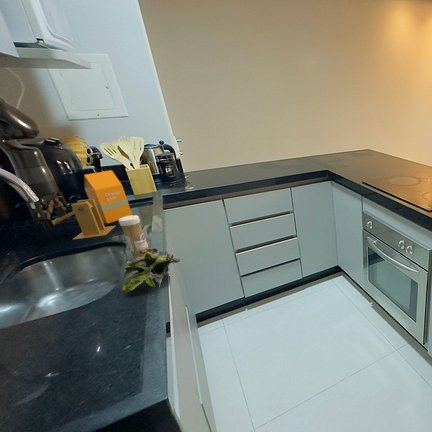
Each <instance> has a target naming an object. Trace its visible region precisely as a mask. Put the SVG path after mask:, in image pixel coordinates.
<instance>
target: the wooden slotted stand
mask: <svg viewBox="0 0 432 432" xmlns="http://www.w3.org/2000/svg"><path fill="white" fill-rule="evenodd" d="M86 201H88V202H86ZM84 202H86V203H84ZM89 203H90V204H91V205H92V206H93V207H90V204H89ZM70 207H71V209H72V211H74V213H75V214H74V216H75V218H76V220H77V223H78V225H79V228H80V230H81V232H80V233H79V234H78V235H76V236H75V237H74V238H72V240H73V241H74V240H82V239H89V238H95V237H103V236H107V235H108V234H109V233H110V232H111V231H112V230H113V229H114V228H116V225H110V226H105V223H104V222H103V221H102V218H101V215H100V213H99V210H98V208H97V205H96V203H95V200H94V199H89V198H88V199H80V200H77V201H76V203H71V204H70Z"/></svg>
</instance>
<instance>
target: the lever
mask: <svg viewBox="0 0 432 432" xmlns="http://www.w3.org/2000/svg"><path fill="white" fill-rule="evenodd" d="M86 202H88V201H86ZM86 202H84V203H86ZM89 204H90V203H89ZM90 207H93V206H92V205H91V204H90ZM73 215H75V213H74V211H73V210H72V211H70V212H67V213H66V215H64V216H62V217H60V218H58V217H57V218H55V219H53V220H52V222H53V224H54V226H56V225H57V224H59V223H62V222H61V221H62V220H64V219H66V218H69V217H71V216H73Z"/></svg>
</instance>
